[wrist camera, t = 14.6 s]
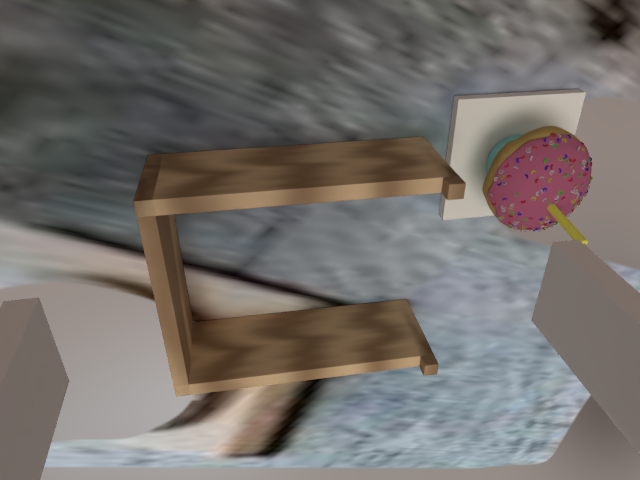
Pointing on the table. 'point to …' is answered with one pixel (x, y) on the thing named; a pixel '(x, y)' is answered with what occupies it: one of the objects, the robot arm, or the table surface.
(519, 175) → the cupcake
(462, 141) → the plate
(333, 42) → the table surface
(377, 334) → the brown open-sided frame
